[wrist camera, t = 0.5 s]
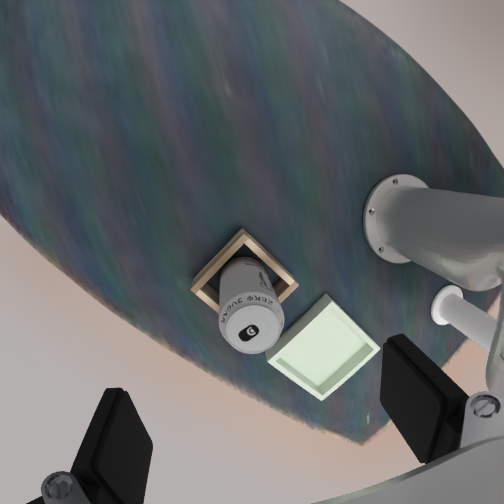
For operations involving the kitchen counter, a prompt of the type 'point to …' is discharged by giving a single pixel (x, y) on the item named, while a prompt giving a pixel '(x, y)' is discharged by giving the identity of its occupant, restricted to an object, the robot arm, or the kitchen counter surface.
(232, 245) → the wooden square frame
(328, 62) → the kitchen counter surface
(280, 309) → the energy drink can
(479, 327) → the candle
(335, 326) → the tray
